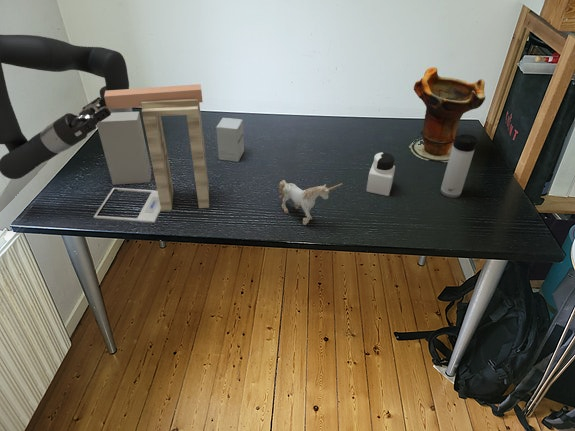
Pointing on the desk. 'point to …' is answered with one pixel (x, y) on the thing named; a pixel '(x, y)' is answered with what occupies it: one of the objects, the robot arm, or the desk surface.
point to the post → (125, 148)
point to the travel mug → (458, 165)
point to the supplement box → (230, 139)
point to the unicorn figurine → (302, 197)
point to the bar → (150, 95)
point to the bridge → (159, 152)
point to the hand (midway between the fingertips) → (111, 103)
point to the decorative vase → (444, 112)
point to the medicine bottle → (381, 174)
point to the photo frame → (146, 214)
